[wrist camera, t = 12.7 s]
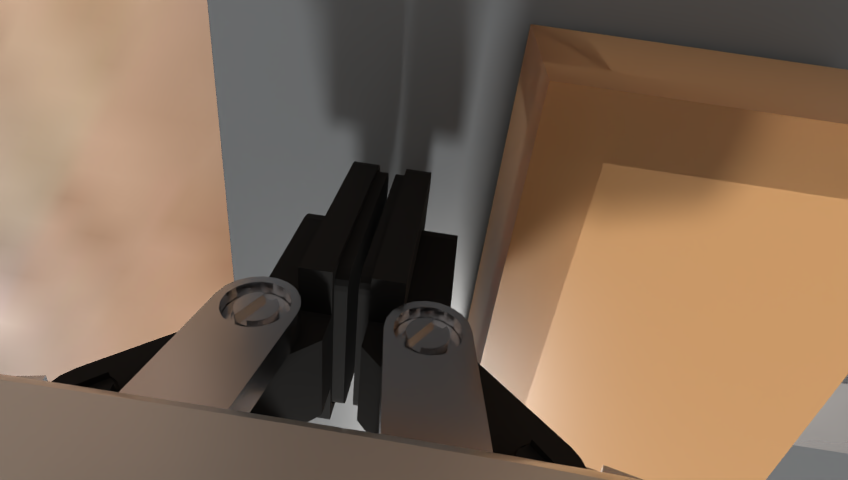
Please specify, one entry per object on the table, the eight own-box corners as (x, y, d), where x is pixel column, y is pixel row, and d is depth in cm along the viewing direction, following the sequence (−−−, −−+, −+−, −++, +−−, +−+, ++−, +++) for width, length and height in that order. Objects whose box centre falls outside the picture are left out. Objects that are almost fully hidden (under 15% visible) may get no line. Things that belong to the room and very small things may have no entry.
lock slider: (458, 363, 15) (449, 488, 12) (530, 24, 10) (549, 80, 7) (673, 396, 15) (724, 533, 12) (851, 69, 10) (1022, 149, 7)
